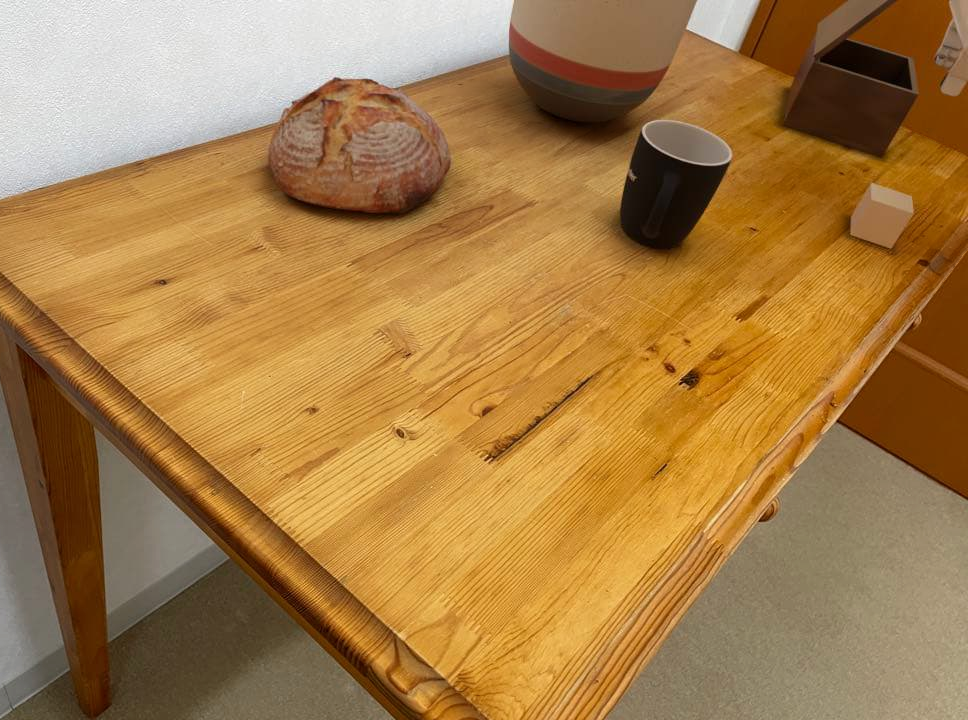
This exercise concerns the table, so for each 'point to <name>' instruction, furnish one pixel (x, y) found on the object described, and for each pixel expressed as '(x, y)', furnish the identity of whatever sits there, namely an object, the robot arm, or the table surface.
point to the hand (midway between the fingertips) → (944, 77)
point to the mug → (671, 181)
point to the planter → (594, 52)
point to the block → (881, 215)
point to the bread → (358, 149)
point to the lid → (846, 22)
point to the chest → (852, 95)
